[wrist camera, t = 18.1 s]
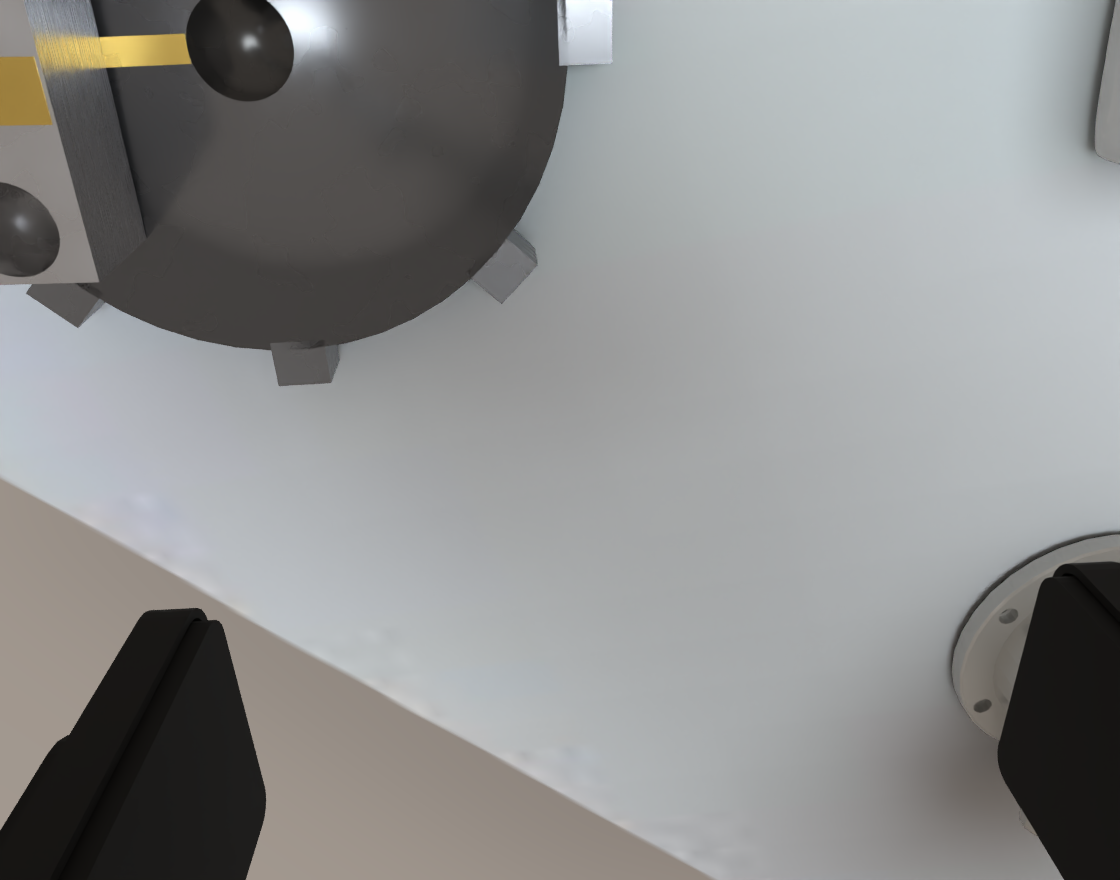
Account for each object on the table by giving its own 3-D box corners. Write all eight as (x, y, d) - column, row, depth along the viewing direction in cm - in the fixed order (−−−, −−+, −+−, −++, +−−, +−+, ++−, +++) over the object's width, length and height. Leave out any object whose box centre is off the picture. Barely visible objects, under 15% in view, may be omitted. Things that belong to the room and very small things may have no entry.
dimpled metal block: (146, 239, 28) (98, 282, 25) (16, 241, 28) (-52, 286, 24) (58, -137, 23) (-18, -148, 20) (-102, -137, 23) (-207, -149, 20)
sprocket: (742, 64, 29) (817, 98, 22) (299, 468, 35) (254, 589, 28) (183, -696, 20) (35, -1013, 14) (-279, 13, 26) (-540, 33, 20)
